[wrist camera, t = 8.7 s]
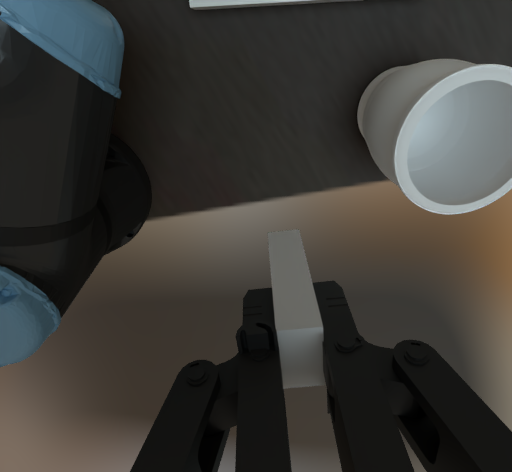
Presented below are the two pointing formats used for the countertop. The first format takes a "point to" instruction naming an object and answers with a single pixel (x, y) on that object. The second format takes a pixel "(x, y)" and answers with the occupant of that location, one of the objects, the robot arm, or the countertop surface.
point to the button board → (250, 3)
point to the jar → (442, 132)
